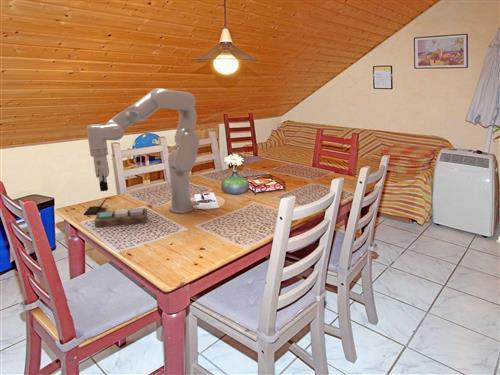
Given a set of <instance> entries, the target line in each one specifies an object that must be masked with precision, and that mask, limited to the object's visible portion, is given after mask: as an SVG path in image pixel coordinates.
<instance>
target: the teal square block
mask: <svg viewBox="0 0 500 375" xmlns="http://www.w3.org/2000/svg"><path fill="white" fill-rule="evenodd" d="M104 212H105V213H100V216H99V219H105V218H113V212H111V211H104Z"/></svg>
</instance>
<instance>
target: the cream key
mask: <svg viewBox="0 0 500 375" xmlns="http://www.w3.org/2000/svg"><path fill="white" fill-rule="evenodd" d="M128 210H129V209H128V208H125V209H123V208H122V209H115V210H114V211H115V218H116V217H126V216H127V217H128Z"/></svg>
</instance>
